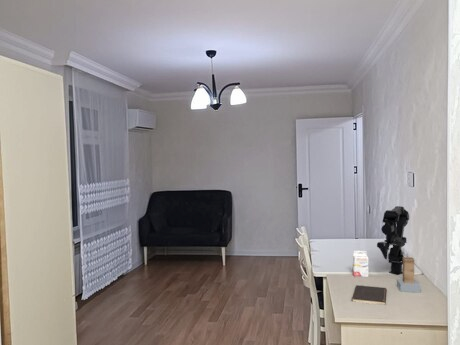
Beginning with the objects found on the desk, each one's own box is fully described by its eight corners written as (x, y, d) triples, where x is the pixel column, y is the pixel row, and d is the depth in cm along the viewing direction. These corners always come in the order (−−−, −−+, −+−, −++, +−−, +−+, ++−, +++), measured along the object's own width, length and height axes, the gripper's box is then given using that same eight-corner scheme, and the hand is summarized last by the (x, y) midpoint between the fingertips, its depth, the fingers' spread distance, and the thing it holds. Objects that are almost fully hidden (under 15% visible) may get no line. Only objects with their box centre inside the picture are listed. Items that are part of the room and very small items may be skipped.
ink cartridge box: (354, 276, 276) (354, 252, 275) (352, 274, 281) (352, 250, 280) (368, 276, 275) (368, 252, 274) (367, 274, 280) (367, 250, 279)
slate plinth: (396, 286, 256) (396, 279, 256) (415, 286, 254) (415, 279, 254) (400, 291, 246) (400, 284, 246) (420, 292, 245) (420, 285, 244)
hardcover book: (352, 302, 232) (352, 298, 231) (356, 289, 253) (356, 285, 253) (385, 306, 226) (385, 301, 226) (386, 292, 248) (386, 287, 247)
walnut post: (402, 280, 253) (402, 257, 252) (412, 280, 252) (412, 257, 252) (404, 283, 248) (404, 259, 247) (414, 283, 247) (414, 259, 247)
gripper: (392, 235, 258) (392, 263, 259) (413, 232, 269) (412, 258, 269) (376, 232, 268) (376, 259, 268) (396, 229, 278) (396, 254, 279)
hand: (390, 258), depth 271 cm, fingers open, 9 cm apart
